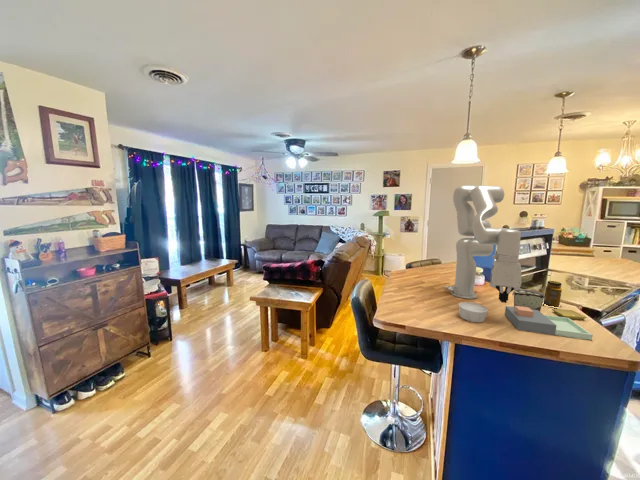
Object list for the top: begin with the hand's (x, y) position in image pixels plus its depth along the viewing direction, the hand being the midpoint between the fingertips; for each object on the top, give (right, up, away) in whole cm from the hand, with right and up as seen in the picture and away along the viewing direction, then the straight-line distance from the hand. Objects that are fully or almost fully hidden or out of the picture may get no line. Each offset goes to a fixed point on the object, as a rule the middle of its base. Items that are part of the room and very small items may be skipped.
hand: (503, 301), depth 112 cm
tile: (+7, -5, -1) cm, 9 cm away
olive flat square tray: (+35, -9, +8) cm, 37 cm away
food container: (+18, -8, +12) cm, 23 cm away
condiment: (+38, -7, +21) cm, 44 cm away
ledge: (+9, -9, -1) cm, 13 cm away
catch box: (+20, -10, -5) cm, 23 cm away
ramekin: (-11, -8, +4) cm, 14 cm away
